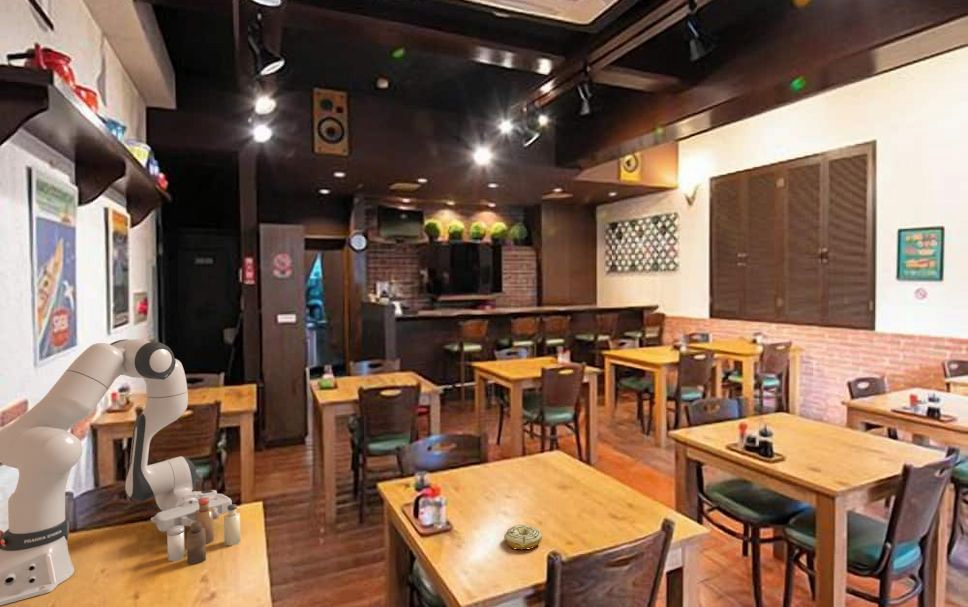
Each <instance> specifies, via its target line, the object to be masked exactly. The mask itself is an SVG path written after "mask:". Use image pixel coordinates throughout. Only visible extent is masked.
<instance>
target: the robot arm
mask: <svg viewBox="0 0 968 607" xmlns="http://www.w3.org/2000/svg"><path fill="white" fill-rule="evenodd" d="M120 376H127V377H130V378H135V379H143V380H144V382H145V387H146V388H145V389H146V390H145V391H146V392H145V393H146V402H145V406H144V408H143V410H142V412H141V413H140V414H139V415H138V416H137V417H136V419H135V422H134V426H133V432H132V438H131V448H130V456H129V463H128V470H127V473H126V478H125V484H124V485H125V491H126V495H127V497H128V498H129V499H131V500H133V501H136V502H138V503H139V502H141V503H143V502H146V501H149V500H150V499H152V498H155V499H154V500H155V502H156V505H157V506H158V508H159V509H160V510H161V511H159V512H157V513H156V514H155V515H154V516H152V517H151V518H150V522H151V523H153V524H155V525H156V529H157V530H158V531H159V532H162V533H163V532H167V529H168V528H170V527H173V526H178V525H182V526H184V527H190V526H191V525H192V524H193V523H194V522H197V520H196V519H195V511H196V510H198V509H199V504H198V500H199V499H201V498H205V497H207V498H209V508H213V521H215V520H218V519H219V518H220V515H223V514H228V508H227V506H228V505H231V504H233V503H232V498H231V497H228V496H227V495H225V494H223V493H218V492H217V490H216V489H210V490H201V491H200V490H199V491H194V489H195V487H196V485H197V484H196V483H197V480H198V479H197V478H198V477H197V469H196V467H195V464H194V463H193V462H192V460H190V459H189V458H187V457H186V456H183V455H181V456H177V457H173V458H169V459H165V460H163V461H159V462H156V463H152V464H148V461H149V453H150V452H149V451H150V444H151V441H152V438H153V437H154V436H155V435H156V434H157V433H158V432H159V431H161V430H163V429H164V428H165V427H166V426H168V425H170V424H172V423H174V422H175V421H177V420H178V419H179V418H180V417H181V416H183V414H185V412H186V410H187V408H188V405H189V404H188V403H189V392H188V384H187V382H188V381H187V377H186V373H185V369H184V367H183V364H182V362H181V361H180V360H179V359H177V358H175V355H174V352H173V351H172V349H171V348H170V347H169V346H168V345H166V344H164V343H162V342H159V341H149V340H144V339H128V338H127V339H119V340H116V341H114V342H111V343H107V342H106V343H105V342H97V343H96V342H95V343H94V344H93V343H92V344H91V345H90V346H88V347H87V348H86V349H85V350H84V351H83V352H81V354H80V355H79V356H78V357H76V359H74V361H73V362H72V363H71V364H70V365H69V366H68V367H67V369H66V370H65V372H63V374H62V375H61V376H60V377H59V379H58V380H57V381H56V383H54V385H53V386H52V387H51V389H50V390H49V391H48V392H47V393H46V394H45V396H44V397H43V398H42V399H40V400H39V402H37V403H36V404H34V405H33V407H32V408H30V410H28V411H27V412H26V413H25V414H24V415H22V416H21V417H20V418H19V419H17V420H16V421H14V422H13V423H12V424H10V425H8V426H6V427H4V428H2V429H0V463H1V464H2V465H4V466H6V467H9V468H13V469H17V470H18V479H17V484H16V487H15V489H14V490H15V491H14V492H13V493H11V495H10V496H9V498H8V500H7V501H8V502H7V506H8V507H7V510H8V512H7V513H8V514H7V515H8V517H7V518H8V529H6V530H5V531H3V530H0V606H4V605H7V604H11V603H15V602H19V601H23V600H26V599H30V598H33V597H38V596H41V595H44V594H48V593H50V592H52V591H53V590H54V589H55V588H56V587H57V586H58V585H60V584H61V583H63V582H64V581H66V580H67V579H69V578H70V577H71V576H72V575H73V574H74V573H75V567H74V565H73V562H72V559H71V555H70V552H69V546H68V539H69V521H68V518H67V516H66V488H67V483H68V479H69V475H70V473H71V470H72V468H73V467H74V466H75V465H77V463H78V462H79V460H80V459H81V456H82V454H83V444H82V442H81V440H80V438H78V437H77V436H76V435H74V434H72V433H71V432H69V430H70V429H71V428H72V427H73V426H75V425H77V424H78V423H80V422H81V421H83V420H85V419H87V418H88V417H89V416H91V415H92V413H93V412H94V410H95V409H96V407H97V406H98V404H100V402H101V400H102V399H103V398H104V396H105V395H106V394H107V392H108V390H109V389H110V388H111V386H112V385H113V384H114V382H115V380H117V378H119V377H120Z"/></svg>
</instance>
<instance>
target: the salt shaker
mask: <svg viewBox="0 0 968 607" xmlns="http://www.w3.org/2000/svg"><path fill="white" fill-rule="evenodd" d="M166 536H167V539H166V540H167V542H166V544H167V561H169V562H176V561H180V560H182V559H184V558H185V526H182V525H178V526H173V527H170V528H168V529H167V531H166Z"/></svg>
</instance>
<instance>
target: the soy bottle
mask: <svg viewBox="0 0 968 607" xmlns="http://www.w3.org/2000/svg"><path fill="white" fill-rule="evenodd" d="M198 504H199V509H198V510H196V511H195V519H196V520H197V522H200V523H201V524H202V528H205V537H206V545H208V543H209V544H211V543H212V541H213V542H214V539H215V537H214V535H215V534H214V533H215V532H214V520H213V508H209V498H207V497H205V498H201V499H199V500H198ZM210 542H211V543H210Z"/></svg>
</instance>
